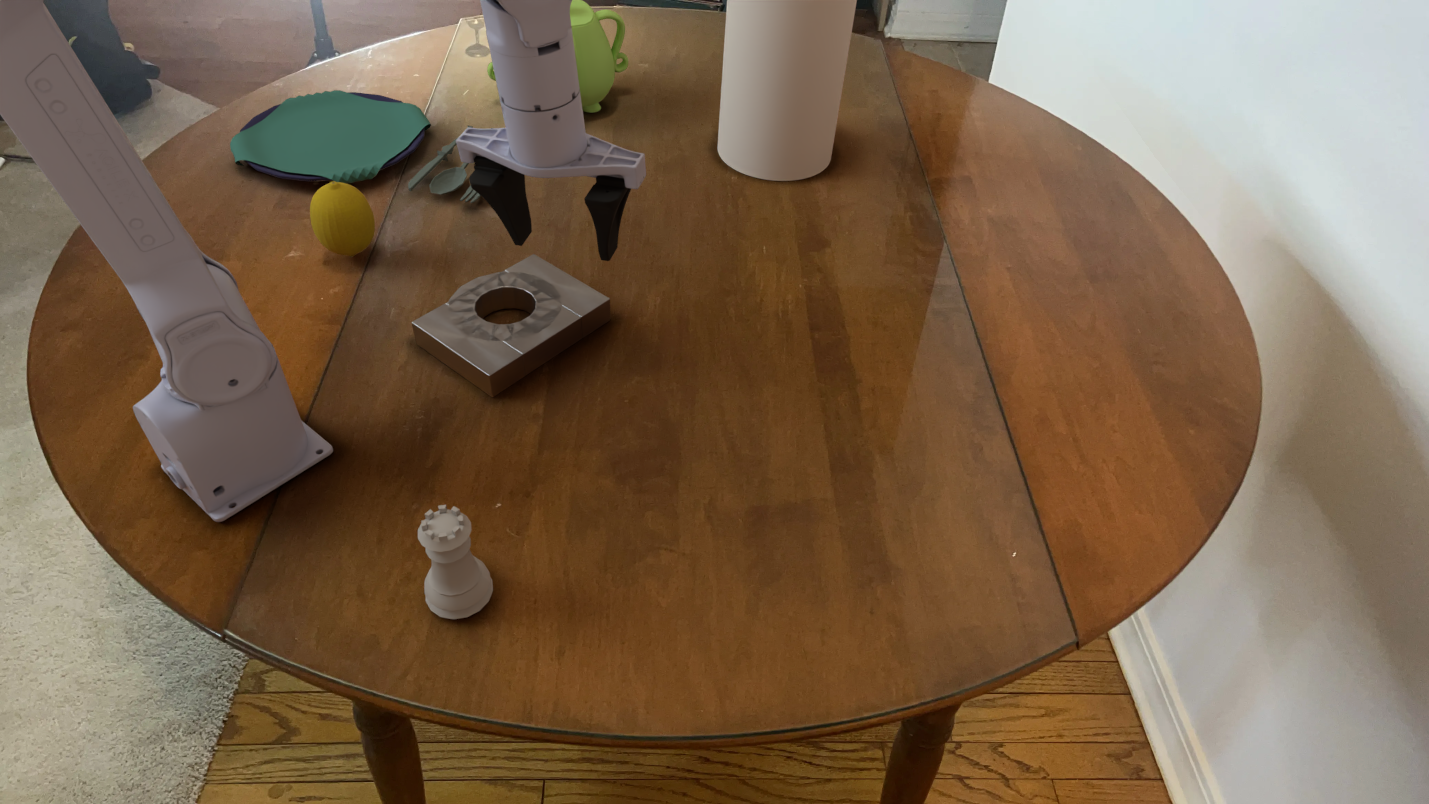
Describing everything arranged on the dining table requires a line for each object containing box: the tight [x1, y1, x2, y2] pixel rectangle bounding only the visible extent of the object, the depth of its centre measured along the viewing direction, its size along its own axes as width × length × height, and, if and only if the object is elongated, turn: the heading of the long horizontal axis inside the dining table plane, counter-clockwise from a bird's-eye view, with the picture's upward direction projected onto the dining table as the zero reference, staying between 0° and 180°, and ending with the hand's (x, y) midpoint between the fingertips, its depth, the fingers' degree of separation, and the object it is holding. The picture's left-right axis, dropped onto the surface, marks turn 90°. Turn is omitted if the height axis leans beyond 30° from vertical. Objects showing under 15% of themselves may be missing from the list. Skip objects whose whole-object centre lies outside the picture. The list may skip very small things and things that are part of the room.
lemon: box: [309, 180, 376, 258], centre depth 85 cm, size 6×6×8 cm
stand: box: [411, 253, 612, 398], centre depth 80 cm, size 14×11×2 cm
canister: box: [716, 0, 858, 182], centre depth 100 cm, size 14×14×20 cm
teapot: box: [486, 0, 629, 113], centre depth 109 cm, size 16×14×13 cm
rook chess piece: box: [417, 504, 494, 620], centre depth 58 cm, size 4×4×8 cm
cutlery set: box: [229, 89, 493, 204], centre depth 100 cm, size 20×30×2 cm, turn 75°
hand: (565, 245), depth 74 cm, fingers open, 7 cm apart
